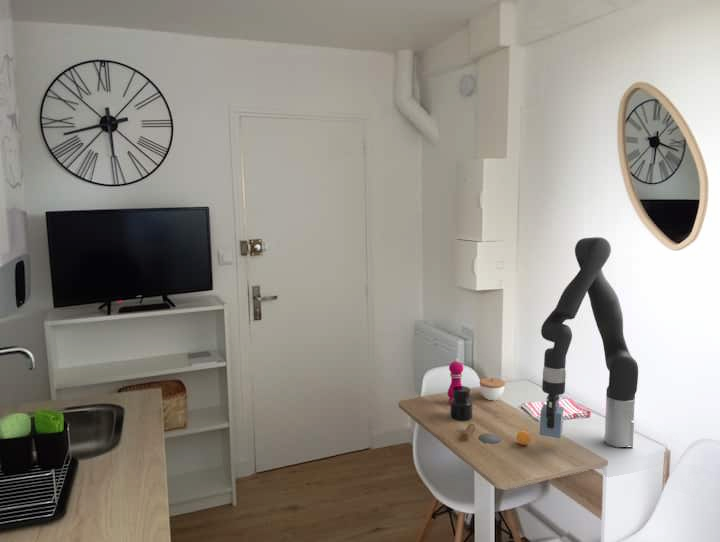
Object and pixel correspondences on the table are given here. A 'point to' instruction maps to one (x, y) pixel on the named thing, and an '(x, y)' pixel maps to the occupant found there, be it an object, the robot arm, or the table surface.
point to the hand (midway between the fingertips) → (551, 424)
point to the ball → (523, 437)
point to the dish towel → (569, 406)
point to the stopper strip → (468, 432)
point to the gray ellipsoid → (490, 438)
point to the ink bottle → (461, 404)
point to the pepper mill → (455, 377)
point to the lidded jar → (492, 388)
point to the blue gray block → (558, 423)
